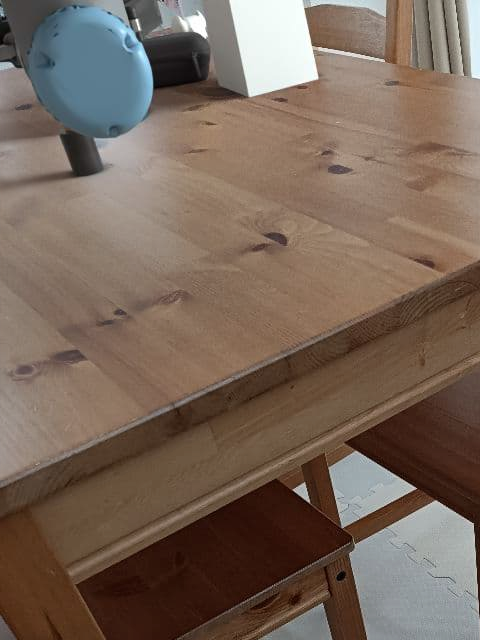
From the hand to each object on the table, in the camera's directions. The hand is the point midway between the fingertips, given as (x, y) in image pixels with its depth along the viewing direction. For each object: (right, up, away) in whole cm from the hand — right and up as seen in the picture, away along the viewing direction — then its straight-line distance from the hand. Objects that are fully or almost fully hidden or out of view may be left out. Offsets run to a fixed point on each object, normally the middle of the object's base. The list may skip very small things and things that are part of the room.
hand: (40, 20), depth 76 cm
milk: (+14, +20, +44) cm, 50 cm away
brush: (-2, -7, +18) cm, 19 cm away
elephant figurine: (-4, +41, +70) cm, 81 cm away
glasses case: (-4, +23, +51) cm, 56 cm away
